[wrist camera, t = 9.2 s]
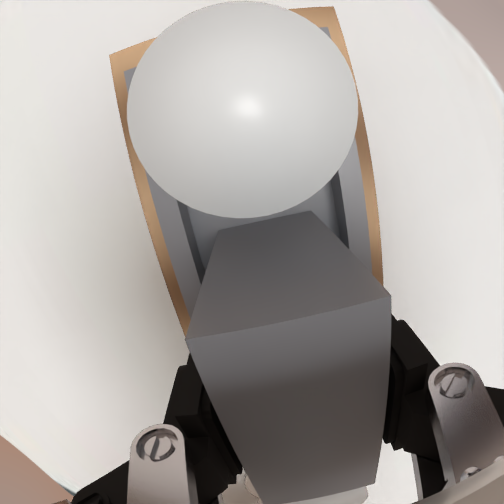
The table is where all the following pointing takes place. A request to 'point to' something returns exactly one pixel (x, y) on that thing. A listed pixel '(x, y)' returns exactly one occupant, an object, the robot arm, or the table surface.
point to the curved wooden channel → (118, 65)
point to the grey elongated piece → (269, 242)
